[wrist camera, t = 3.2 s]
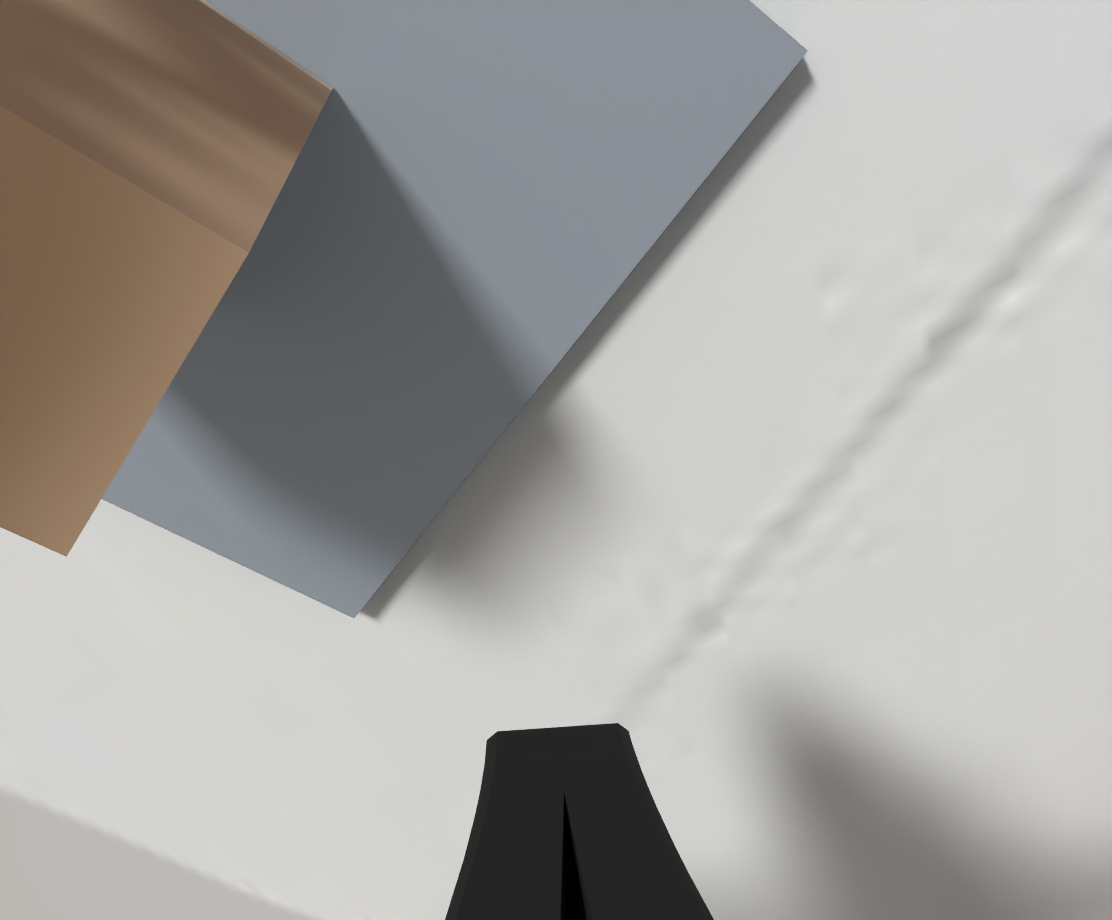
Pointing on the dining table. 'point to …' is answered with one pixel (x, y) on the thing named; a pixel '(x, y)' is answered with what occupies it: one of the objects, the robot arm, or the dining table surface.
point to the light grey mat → (432, 259)
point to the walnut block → (121, 223)
